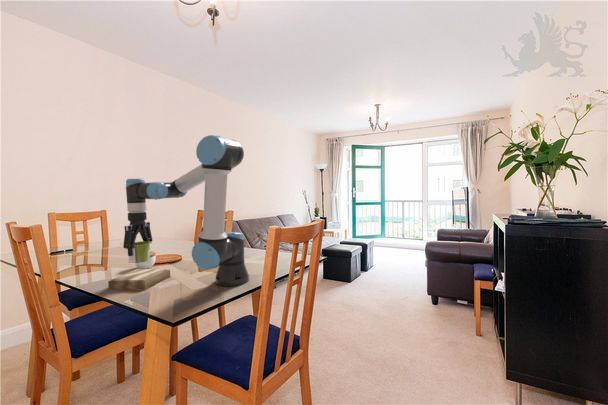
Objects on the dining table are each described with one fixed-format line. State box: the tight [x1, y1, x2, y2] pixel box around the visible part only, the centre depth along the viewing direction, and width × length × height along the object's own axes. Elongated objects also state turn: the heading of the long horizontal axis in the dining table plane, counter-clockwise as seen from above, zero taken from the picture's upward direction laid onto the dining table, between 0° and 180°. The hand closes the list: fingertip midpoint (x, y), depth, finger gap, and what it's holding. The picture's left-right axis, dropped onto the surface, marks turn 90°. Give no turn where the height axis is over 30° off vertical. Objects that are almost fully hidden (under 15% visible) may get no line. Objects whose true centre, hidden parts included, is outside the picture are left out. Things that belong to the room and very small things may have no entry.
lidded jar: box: [134, 251, 157, 269], centre depth 159 cm, size 11×11×9 cm
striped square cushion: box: [107, 268, 171, 291], centre depth 134 cm, size 18×18×4 cm
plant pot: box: [130, 240, 152, 264], centre depth 133 cm, size 9×9×9 cm
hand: (139, 259), depth 133 cm, fingers closed on plant pot, 9 cm apart
